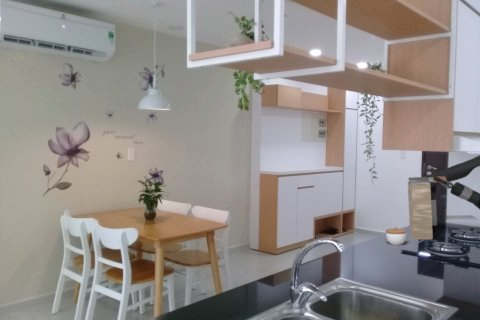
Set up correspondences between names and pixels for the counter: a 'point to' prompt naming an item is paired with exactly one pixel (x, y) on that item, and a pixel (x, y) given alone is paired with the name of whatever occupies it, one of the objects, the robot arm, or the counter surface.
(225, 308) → the counter surface
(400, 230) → the lidded jar
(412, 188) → the birch stand
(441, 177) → the breaker handle
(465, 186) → the robot arm
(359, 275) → the counter surface
